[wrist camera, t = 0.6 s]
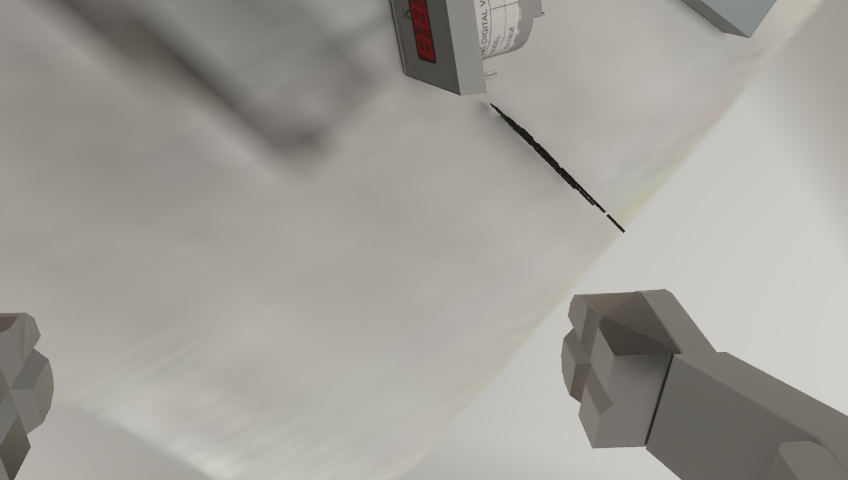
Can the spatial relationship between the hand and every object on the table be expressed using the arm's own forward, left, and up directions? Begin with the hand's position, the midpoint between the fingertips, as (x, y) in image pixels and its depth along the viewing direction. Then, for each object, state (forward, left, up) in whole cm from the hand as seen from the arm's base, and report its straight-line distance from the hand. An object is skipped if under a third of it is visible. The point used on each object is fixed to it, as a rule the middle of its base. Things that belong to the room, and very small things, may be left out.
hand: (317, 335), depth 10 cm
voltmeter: (+6, +16, -44) cm, 47 cm away
